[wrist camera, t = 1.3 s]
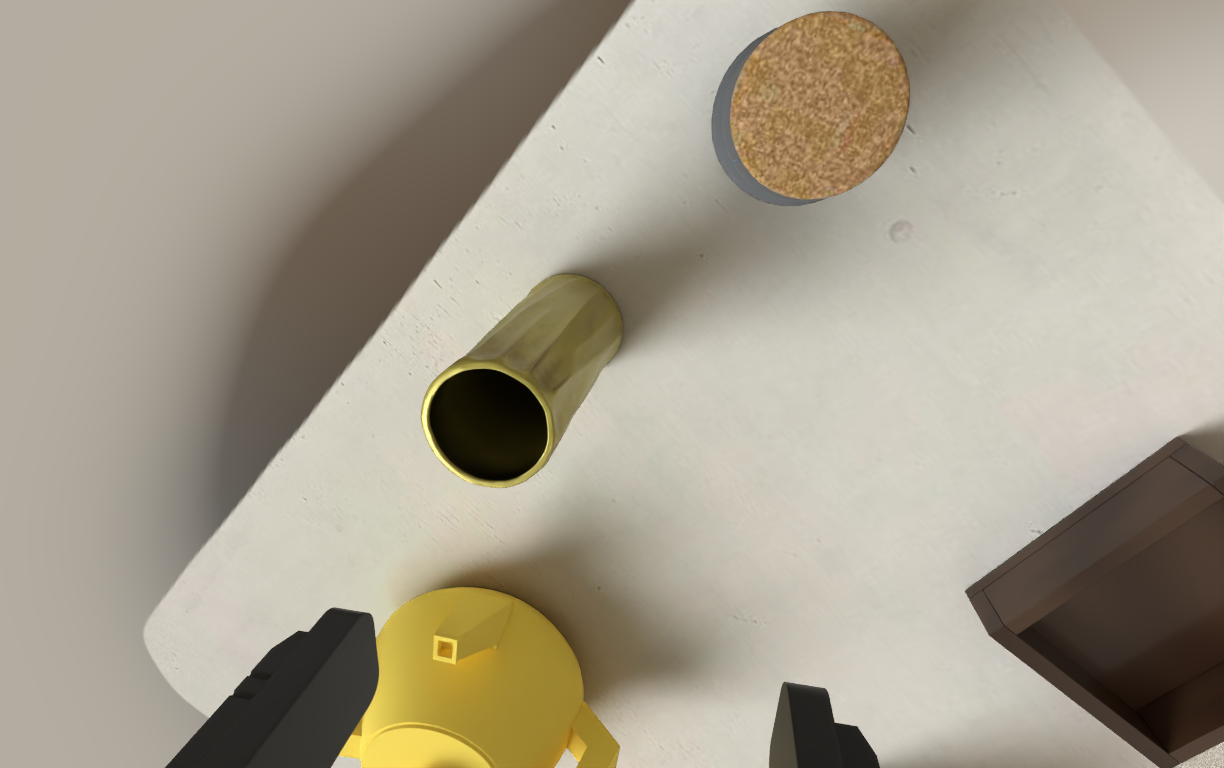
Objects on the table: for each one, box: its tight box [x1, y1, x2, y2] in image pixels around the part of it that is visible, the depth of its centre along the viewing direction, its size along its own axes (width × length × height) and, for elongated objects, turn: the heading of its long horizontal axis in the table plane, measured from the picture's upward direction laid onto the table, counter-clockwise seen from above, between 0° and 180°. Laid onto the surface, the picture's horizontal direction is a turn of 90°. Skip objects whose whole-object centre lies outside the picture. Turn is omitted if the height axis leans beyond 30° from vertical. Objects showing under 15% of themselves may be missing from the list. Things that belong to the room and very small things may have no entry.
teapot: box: [338, 587, 620, 768], centre depth 41 cm, size 17×17×12 cm
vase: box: [421, 274, 623, 488], centre depth 29 cm, size 6×6×14 cm
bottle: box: [712, 11, 910, 206], centre depth 24 cm, size 6×6×15 cm
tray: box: [965, 437, 1224, 768], centre depth 34 cm, size 14×14×4 cm
